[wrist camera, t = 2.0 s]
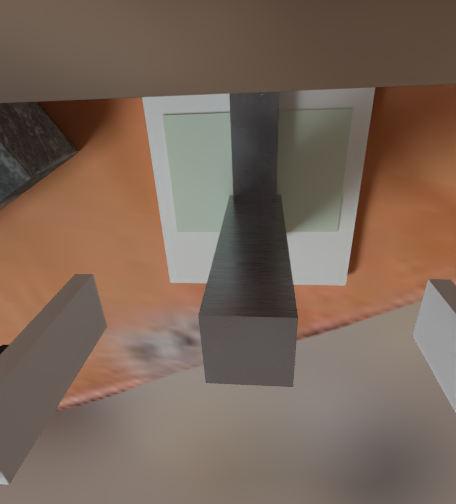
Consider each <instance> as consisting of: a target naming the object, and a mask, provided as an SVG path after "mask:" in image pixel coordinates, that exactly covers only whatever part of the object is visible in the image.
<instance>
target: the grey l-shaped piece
mask: <svg viewBox="0 0 456 504" xmlns="http://www.w3.org/2000/svg"><path fill="white" fill-rule="evenodd" d="M229 97H230V123H231V150H232V176H233V195H230V196H229V200H228V204H227V208H226V211H225V215H224V219H223V223H222V227H221V231H220V235H219V238H218V242H217V246H216V250H215V254H214V258H213V262H212V265H211V269H210V273H209V277H208V281H207V285H206V288H205V292H204V296H203V300H202V304H201V308H200V312H199V325H200V334H201V343H202V352H203V361H204V369H205V379H206V383H219V384H241V385H263V386H287V387H293V379H294V365H295V351H296V337H297V323H298V315H297V308H296V301H295V293H294V286H293V279H292V271H291V264H290V257H289V249H288V242H287V235H286V228H285V220H284V213H283V206H282V198H281V195H277V158H278V120H279V91H278V92H254V93H230V94H229Z"/></svg>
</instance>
